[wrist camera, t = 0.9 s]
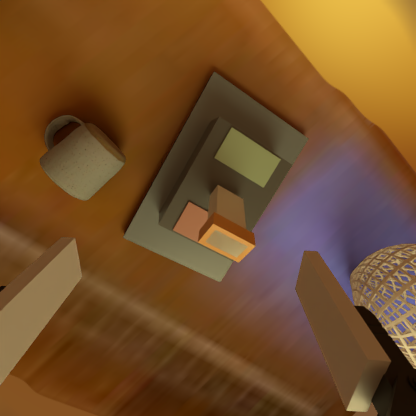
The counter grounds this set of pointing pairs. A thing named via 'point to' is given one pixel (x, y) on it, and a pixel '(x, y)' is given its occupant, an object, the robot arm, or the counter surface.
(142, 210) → the breaker box
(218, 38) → the counter surface
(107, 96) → the counter surface
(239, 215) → the breaker lever
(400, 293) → the heart
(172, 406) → the counter surface
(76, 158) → the ceramic mug
